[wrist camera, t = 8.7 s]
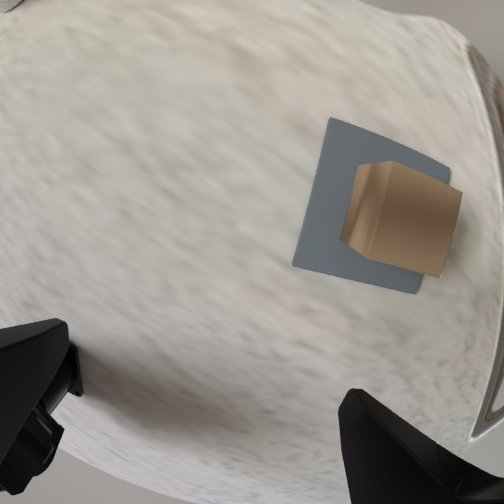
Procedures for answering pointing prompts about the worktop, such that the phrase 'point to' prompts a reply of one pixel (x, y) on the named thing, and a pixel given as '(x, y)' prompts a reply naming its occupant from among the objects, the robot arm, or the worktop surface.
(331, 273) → the slate pad
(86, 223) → the worktop surface
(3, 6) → the milk bottle
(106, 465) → the worktop surface
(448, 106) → the worktop surface
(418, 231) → the walnut cube
